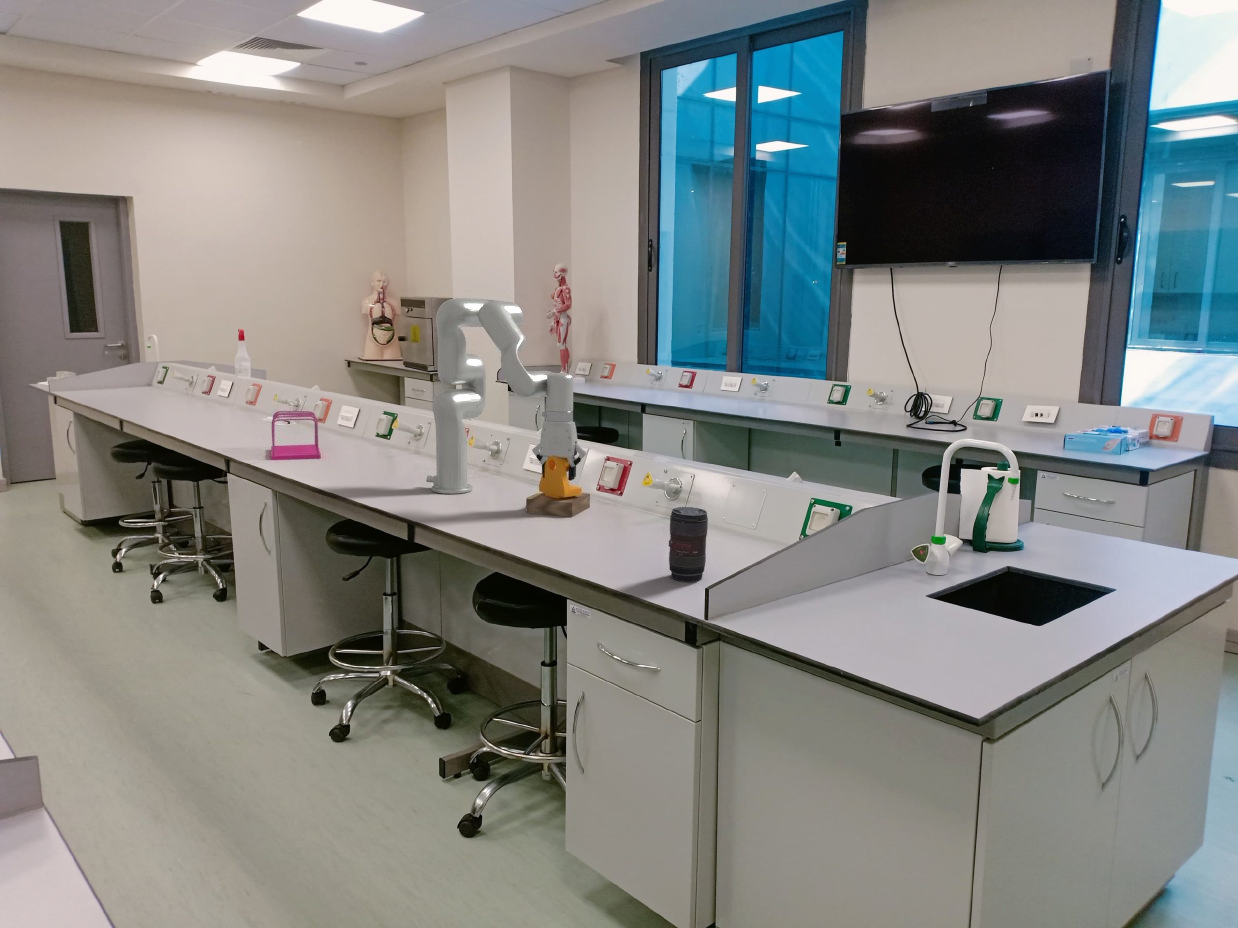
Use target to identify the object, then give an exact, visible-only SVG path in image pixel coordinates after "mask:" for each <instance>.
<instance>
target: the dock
mask: <svg viewBox="0 0 1238 928" xmlns="http://www.w3.org/2000/svg"><path fill="white" fill-rule="evenodd" d="M525 502H526V503H525V504H526V505H525V513H528V514H529V513H530V514H536V515H537V514H538V515H539V514H540V515H549V516H557V517H558V516H559V517H568V518H574V517H575V516H577V515H579V514H580V513H582V512H584V511H585V510H587V509H590V507H591V493H587V492H582V494H581V495H577V496H571V497H566V498H560V499H557V498H553V497H549V496H545V493H544V492H540V491H538V492H536V493H534V494H532V495H530V496H527V497H526V499H525Z"/></svg>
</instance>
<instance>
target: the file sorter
mask: <svg viewBox="0 0 1238 928" xmlns="http://www.w3.org/2000/svg"><path fill="white" fill-rule="evenodd" d="M271 420H272V421H271V442H272V445H271V447H270V459H271V461H283V460H303V459H304V460H305V459H313V460H314V459H321V457H322V455H321V450H320V447H319V425H318V424H319V423H318V418H317V416H316V414H315V413H314V412H313V411H309V410H278V411H276V412H275V413H273V415H272V419H271ZM281 421H282V422H283V421H313V422H314V443H313V444H291V445H290V444H288V445H275V424H276V422H281Z"/></svg>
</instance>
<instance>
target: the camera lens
mask: <svg viewBox="0 0 1238 928" xmlns="http://www.w3.org/2000/svg"><path fill="white" fill-rule="evenodd" d="M669 517H670V519H669V535H670V536H669V537H670V538H669V540H668V547H669V553H668V565H669V571H670V572H671V576H670V577H671V578H672V579H673V580H675V581H679V582H687V583H688V582H689V583H691V582H698V581H701V580H702V579H703V575H704V574H703V573H704V572H705V566H706V563H707V562H706V561H707V560H706V558H707V557H706V556H707V554H706V553H707V552H706V550H707V549H706V548H707V536H708V522H709V518H708V512H707V510H705V509H702V508H699V507H693V506H680V507H678V506H677V507H674V508H671V513H670V516H669Z"/></svg>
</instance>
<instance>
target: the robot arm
mask: <svg viewBox="0 0 1238 928" xmlns="http://www.w3.org/2000/svg"><path fill="white" fill-rule="evenodd" d="M523 323H524V313H523V311H522V309H521V308H520V306H519V305H518V304H516V303H515V302H513V301H504V300H496V299H495V300H494V299H485V298H471V297H470V298H467V297H464V298H463V297H461V298H459V297H455V298H451V299H447V300H446V301H444V302H442V304H441V305H439V307H438V309H437V312H436V315H435V326H436V332H437V376H438V380H439V382H441V383H442V384H443V385H446V386H460V385H461V388H454V389H453V388H452V389H445V390H442V391H440V392H438V393H437V394H436V395H435V396H434V398H433V400H432V402H431V403H432V404H431V405H432V406H431V407H432V412H433V418H434V424H435V445H436V447H435V449H436V450H435V451H436V453H435V455H436V458H435V459H436V462H435V463H436V464H435V465H436V475H435V474H434V475H430V474H428V475H427V476H426V479H425V480H426V483H433V485H432V486H431V492H434V493H436V494H437V493H438V494H445V495H447V494H448V495H449V494H451V495H453V494H454V495H455V494H465V493H469V492H471V491H473V486H472V485H471V484H469V483H468V433H467V428H466V427H465V425H464V423H463V420H467V419H474V418H478V417H480V416H481V415H482V414H483V412H484V410H485V408H486V407H485V406H486V389H487V388H486V387H487V386H486V385H487V383H486V382H487V377H486V375H487V374H486V373H487V371H486V365H485V363H484V361H483V360H482V358H481V357H480V356H479V355H477V354H474V353H467V339H466V337H465V333H464V331H463V329H461V328H469V327H470V328H483V329H484V331H485V332H486V334H487V335H488V336H489V338H490V340H492V342H493V343H494V346H495V347H496V348H497V350H498V351H499V353H500V362H499V363H500V368H501V373H502V376H503V378H504V380H505V381H506V383H507V384H508V386H509V387H510V389H511V390H512V391H513V392H514V394H515V395H517V397H520V398H522V399H535V398H546V403H545V404H546V409H545V411H542V413H541V417H544V418H545V421H543V422H542V426H541V427H542V428H541V432H540V441H539V444H537V445H536V446H534V447H533V448H532V450H531V451H532V453H533V454H534V456H536V457H535V458H536V459H537V460H538V461H539V462H540V463H539V464H540V465H541V475H542V474H543V478H545V463H546V460H547V458H548V457H551V456H552V455H553V456H556V457H559V458H567V459H568V461H569V463H570V467H569V471H568V472H567V473H568V474H567V477H568V482H569V481H573V480H575V478H576V476H577V466H578V465H579V464H580V463H581V462H582V460H583V459H584V458H585V457H586V456H587V452H586V451H585V450H584V449H583V448H582V447H581V446H580V445H579V444H578V434H577V433H578V432H577V426H576V422H575V421H574V377H573V375H572V374H570V373H568V372H567V373H565V372H554V371H549V370H534V371H533V370H532V371H527V369H526V368H525V367H524V365H523V364H522V362H521V360H520V359H519V356H518V354H519V353H520V352H521V351H522V350H523V349H524V348H525V346H526V344H527V339H526V337H525V335H524V333H523V332H522V330H521V329H520V327H521V326H522V324H523ZM577 454H579V455H578V456H577ZM576 456H577V457H576Z"/></svg>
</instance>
